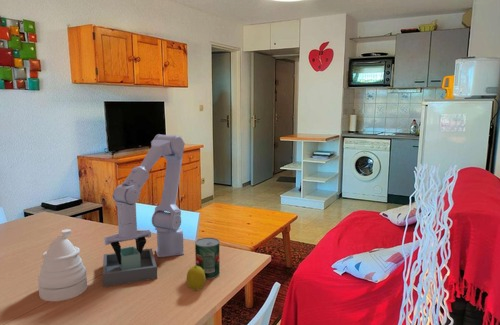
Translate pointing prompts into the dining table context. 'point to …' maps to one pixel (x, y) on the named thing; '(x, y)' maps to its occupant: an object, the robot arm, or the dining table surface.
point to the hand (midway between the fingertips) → (129, 261)
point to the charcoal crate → (119, 276)
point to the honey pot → (62, 271)
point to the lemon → (196, 278)
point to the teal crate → (130, 258)
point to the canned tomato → (208, 256)
